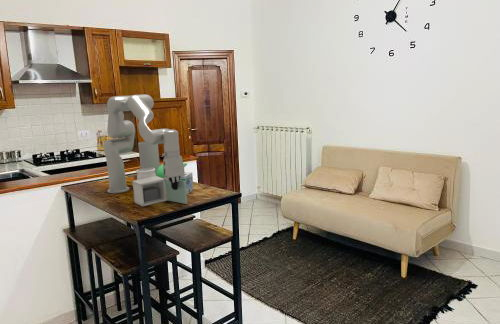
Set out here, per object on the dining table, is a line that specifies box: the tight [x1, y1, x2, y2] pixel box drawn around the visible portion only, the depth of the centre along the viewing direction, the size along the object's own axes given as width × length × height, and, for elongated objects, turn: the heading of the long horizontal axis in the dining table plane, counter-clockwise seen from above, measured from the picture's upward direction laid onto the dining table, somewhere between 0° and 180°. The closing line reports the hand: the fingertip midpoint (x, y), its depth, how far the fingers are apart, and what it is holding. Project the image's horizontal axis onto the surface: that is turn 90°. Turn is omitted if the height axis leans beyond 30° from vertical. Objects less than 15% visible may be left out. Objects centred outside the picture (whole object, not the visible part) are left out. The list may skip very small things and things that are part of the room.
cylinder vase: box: [137, 141, 161, 174], centre depth 253 cm, size 12×12×25 cm
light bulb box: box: [179, 171, 194, 195], centre depth 218 cm, size 11×7×11 cm, turn 168°
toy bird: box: [156, 162, 188, 184], centre depth 239 cm, size 18×17×15 cm
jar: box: [136, 167, 156, 180], centre depth 215 cm, size 11×10×15 cm
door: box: [166, 180, 188, 205], centre depth 198 cm, size 2×14×12 cm, turn 54°
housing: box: [132, 176, 168, 207], centre depth 201 cm, size 10×14×12 cm
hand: (175, 189), depth 193 cm, fingers closed
